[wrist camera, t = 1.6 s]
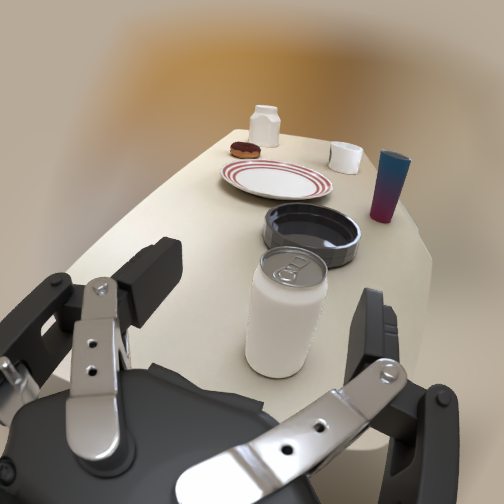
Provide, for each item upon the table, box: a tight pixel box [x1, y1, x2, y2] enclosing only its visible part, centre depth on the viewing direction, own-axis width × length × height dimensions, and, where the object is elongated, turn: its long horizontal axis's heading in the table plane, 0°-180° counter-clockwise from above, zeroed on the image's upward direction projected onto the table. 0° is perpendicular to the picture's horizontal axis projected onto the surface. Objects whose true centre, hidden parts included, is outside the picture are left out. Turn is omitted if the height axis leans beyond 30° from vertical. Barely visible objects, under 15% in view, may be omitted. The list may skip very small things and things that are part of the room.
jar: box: [248, 105, 281, 148], centre depth 109 cm, size 12×10×15 cm
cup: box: [370, 150, 411, 223], centre depth 60 cm, size 7×7×15 cm
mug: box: [328, 142, 363, 174], centre depth 93 cm, size 13×10×8 cm
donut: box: [230, 142, 261, 158], centre depth 95 cm, size 10×10×4 cm
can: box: [245, 246, 328, 378], centre depth 28 cm, size 6×6×12 cm
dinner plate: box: [220, 159, 333, 200], centre depth 73 cm, size 27×27×3 cm
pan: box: [263, 203, 361, 268], centre depth 51 cm, size 16×16×4 cm
